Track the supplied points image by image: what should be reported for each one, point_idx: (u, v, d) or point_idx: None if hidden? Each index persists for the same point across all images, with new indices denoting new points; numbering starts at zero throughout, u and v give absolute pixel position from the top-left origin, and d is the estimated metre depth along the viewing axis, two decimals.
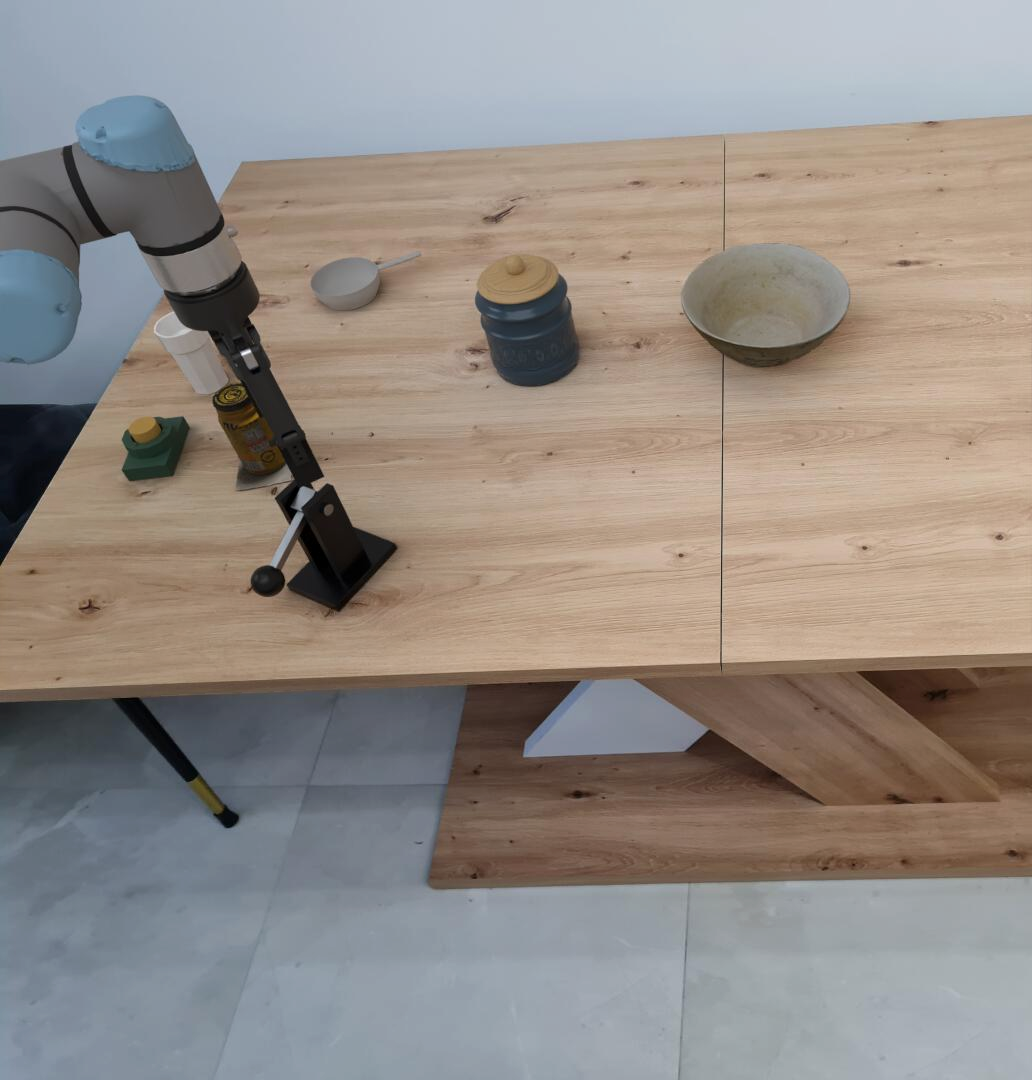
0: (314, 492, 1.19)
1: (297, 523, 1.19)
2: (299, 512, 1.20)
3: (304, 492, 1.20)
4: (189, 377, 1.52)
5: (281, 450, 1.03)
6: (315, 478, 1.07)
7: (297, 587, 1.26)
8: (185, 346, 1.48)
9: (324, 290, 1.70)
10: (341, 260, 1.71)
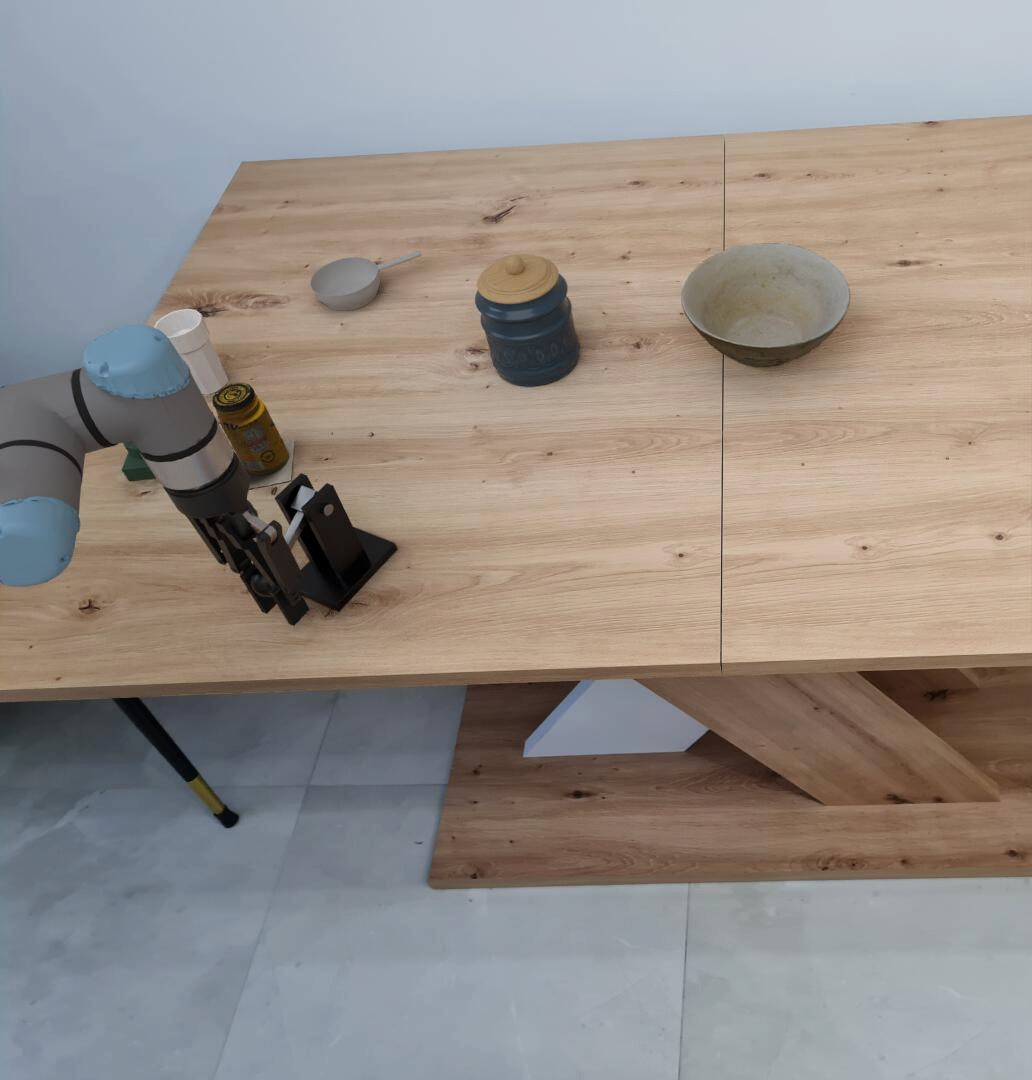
0: (314, 492, 1.19)
1: (297, 523, 1.19)
2: (299, 512, 1.20)
3: (304, 492, 1.20)
4: None
5: (277, 597, 1.17)
6: (304, 613, 1.22)
7: (297, 587, 1.26)
8: (185, 346, 1.48)
9: (324, 290, 1.70)
10: (341, 260, 1.71)
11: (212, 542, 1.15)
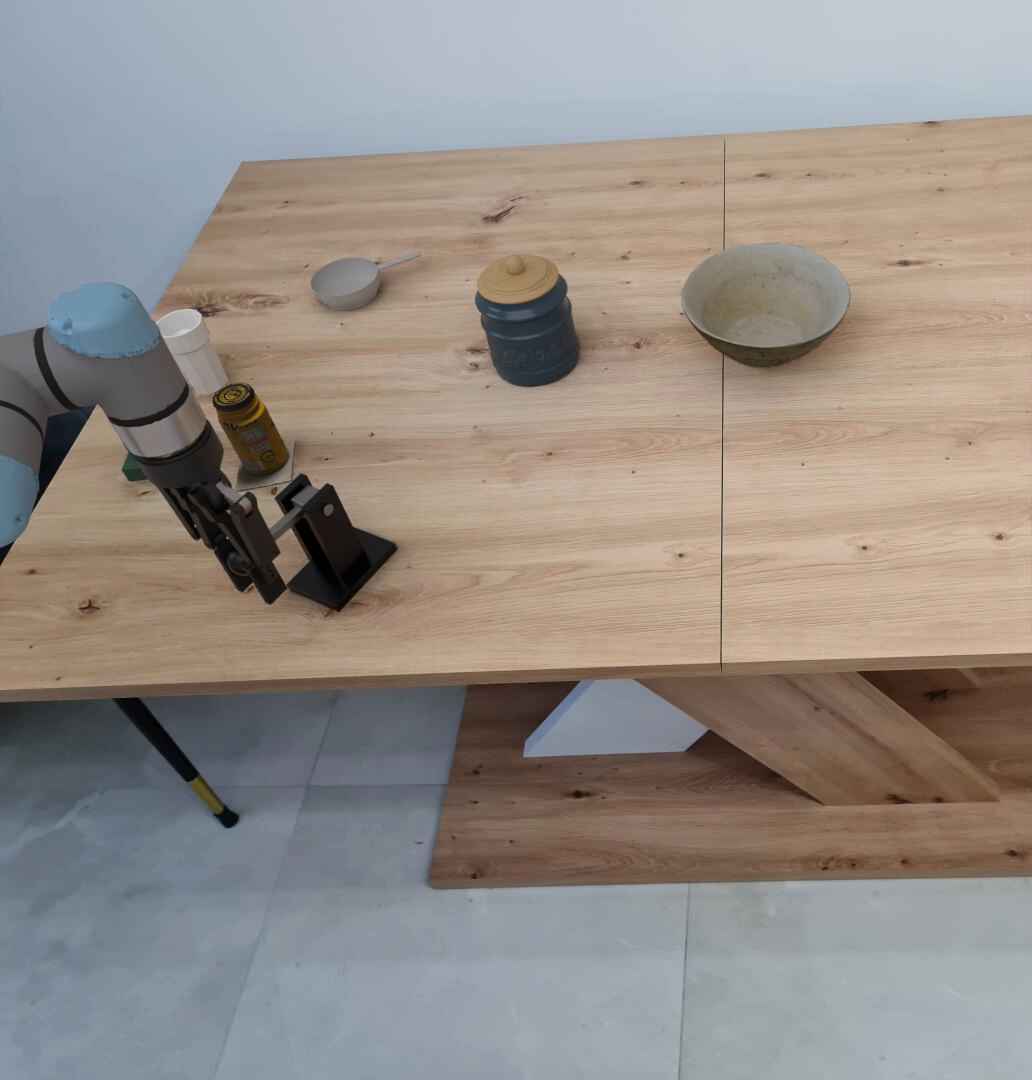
0: None
1: (292, 515, 1.18)
2: (297, 507, 1.19)
3: (309, 490, 1.20)
4: (189, 377, 1.52)
5: (253, 574, 1.13)
6: (281, 592, 1.17)
7: (297, 587, 1.26)
8: (185, 346, 1.48)
9: (324, 290, 1.70)
10: (341, 260, 1.71)
11: (185, 516, 1.11)
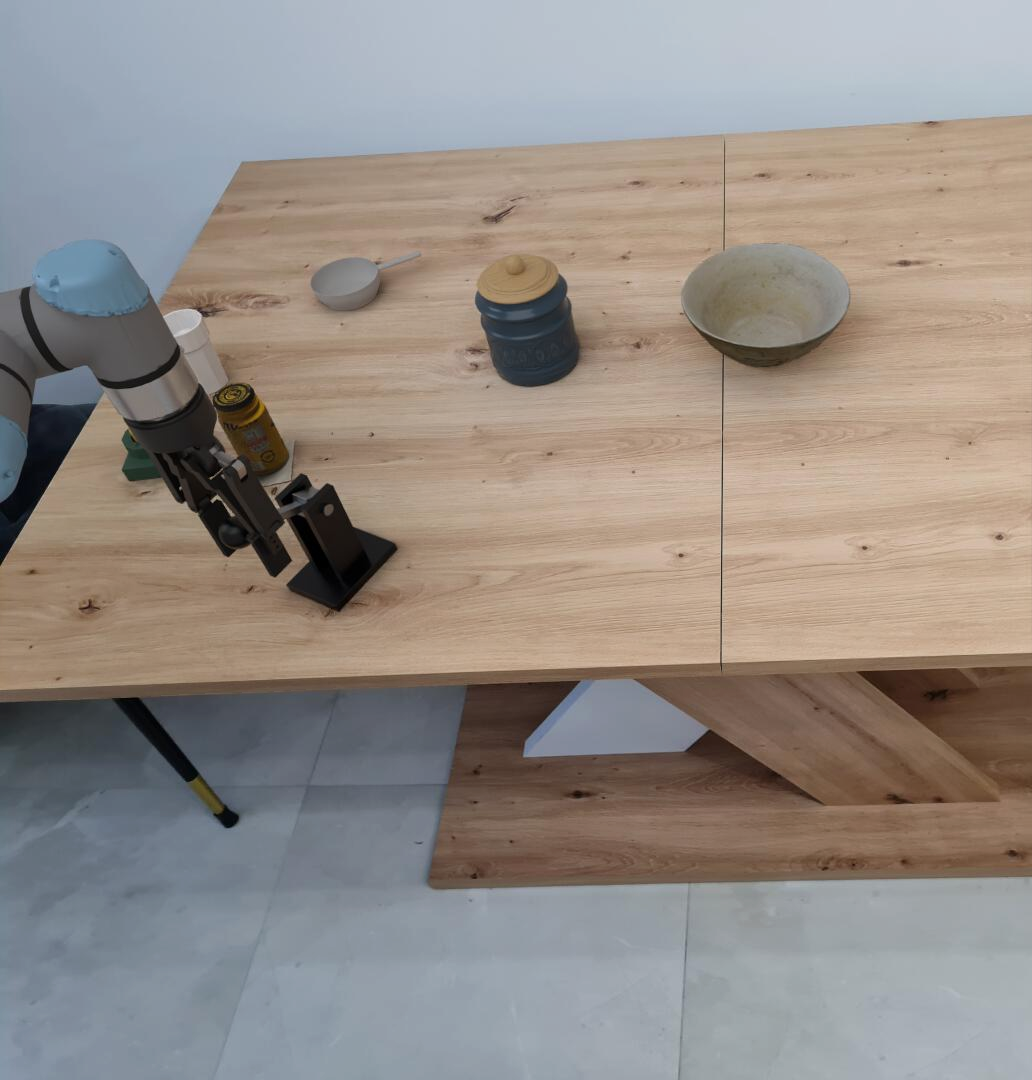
0: None
1: (292, 507, 1.18)
2: (297, 502, 1.19)
3: (312, 490, 1.21)
4: None
5: (257, 545, 1.10)
6: (286, 564, 1.15)
7: (297, 587, 1.26)
8: (185, 346, 1.48)
9: (324, 290, 1.70)
10: (341, 260, 1.71)
11: (171, 480, 1.09)
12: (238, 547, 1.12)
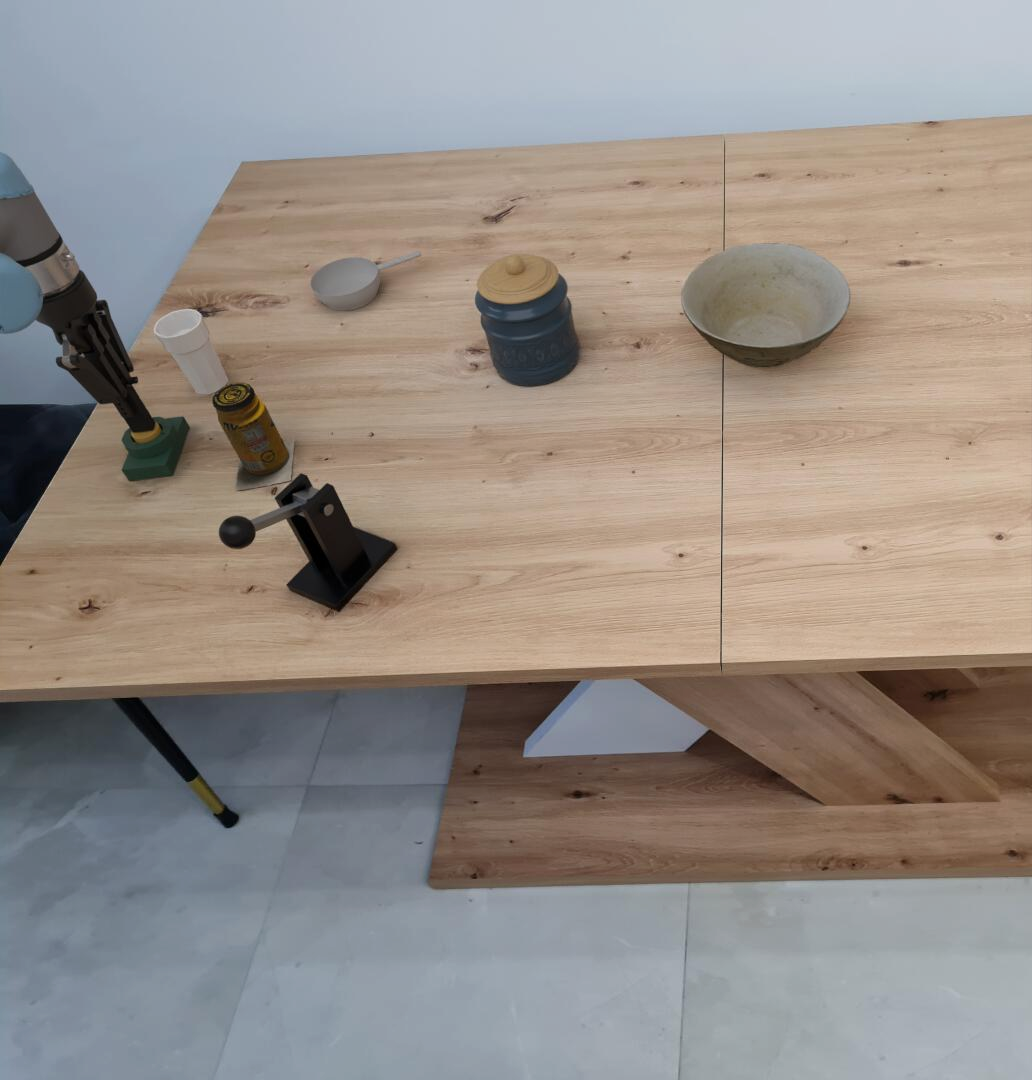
0: None
1: (292, 507, 1.18)
2: (297, 502, 1.19)
3: (312, 490, 1.21)
4: (189, 377, 1.52)
5: None
6: (145, 429, 1.42)
7: (297, 587, 1.26)
8: (185, 346, 1.48)
9: (324, 290, 1.70)
10: (341, 260, 1.71)
11: None
12: (238, 547, 1.12)
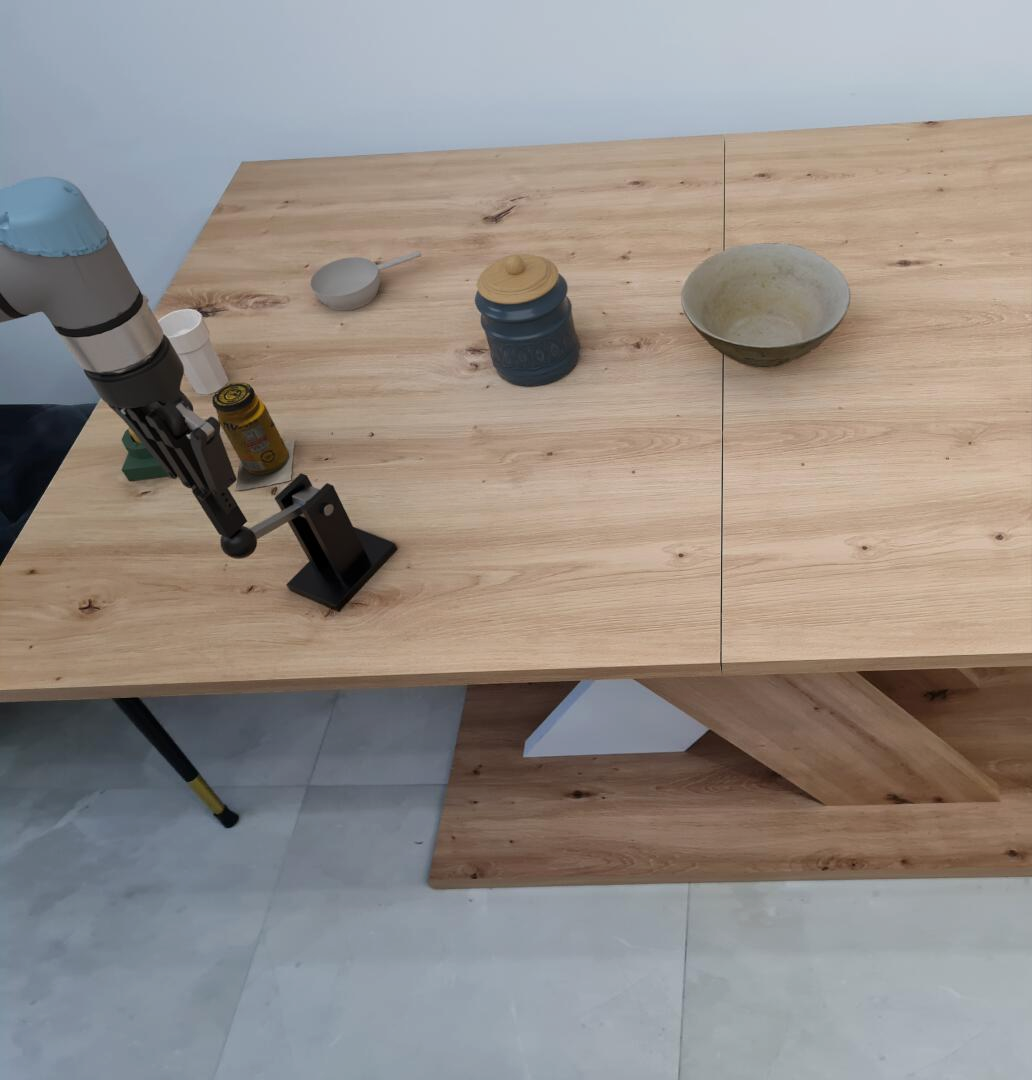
0: None
1: (292, 510, 1.18)
2: (297, 503, 1.19)
3: (311, 490, 1.20)
4: (189, 377, 1.52)
5: (208, 503, 1.07)
6: (240, 525, 1.11)
7: (297, 587, 1.26)
8: (185, 346, 1.48)
9: (324, 290, 1.70)
10: (341, 260, 1.71)
11: (155, 450, 1.04)
12: (241, 557, 1.12)
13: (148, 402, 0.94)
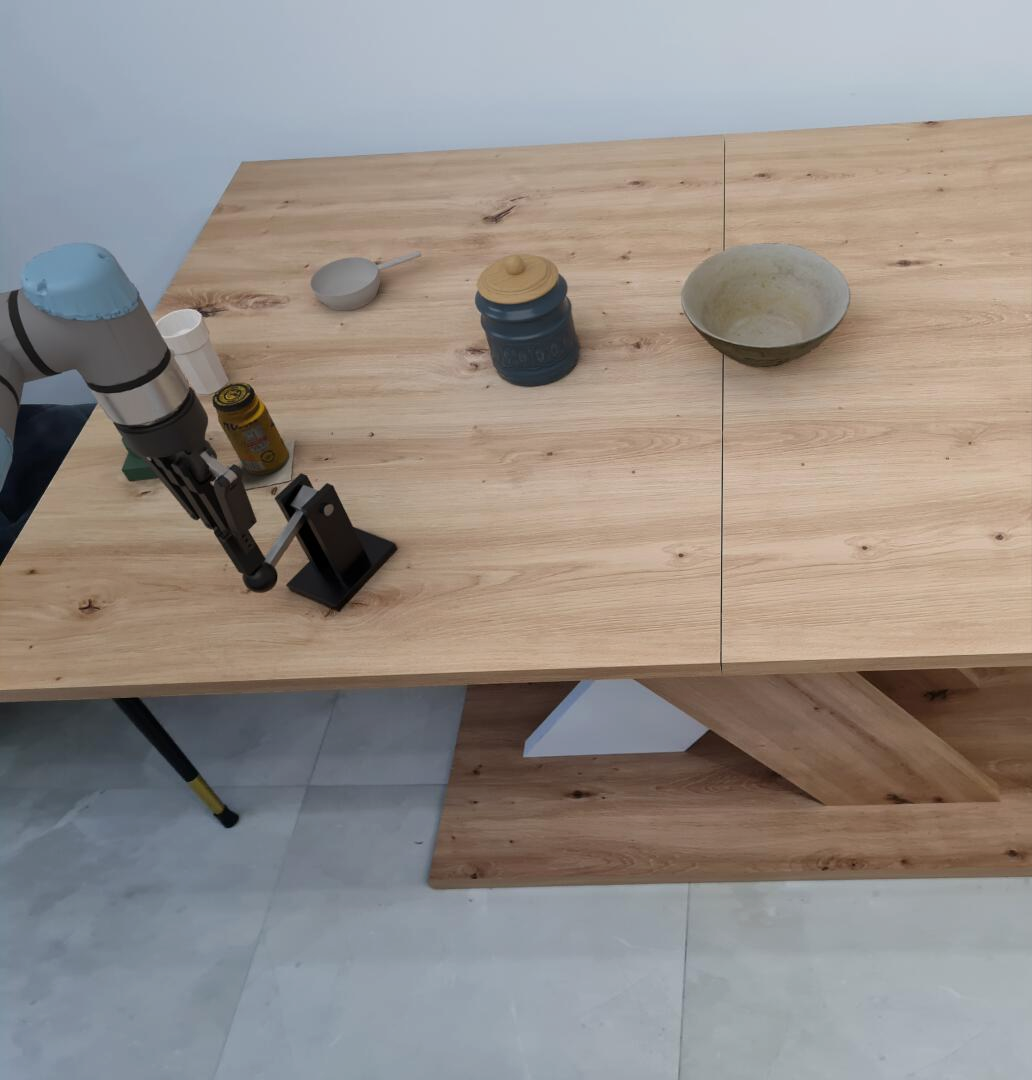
0: (316, 491, 1.19)
1: (295, 521, 1.19)
2: (298, 511, 1.20)
3: (306, 491, 1.20)
4: (189, 377, 1.52)
5: (229, 544, 1.11)
6: (259, 563, 1.15)
7: (297, 587, 1.26)
8: (185, 346, 1.48)
9: (324, 290, 1.70)
10: (341, 260, 1.71)
11: (179, 493, 1.08)
12: (268, 590, 1.18)
13: (174, 452, 0.98)
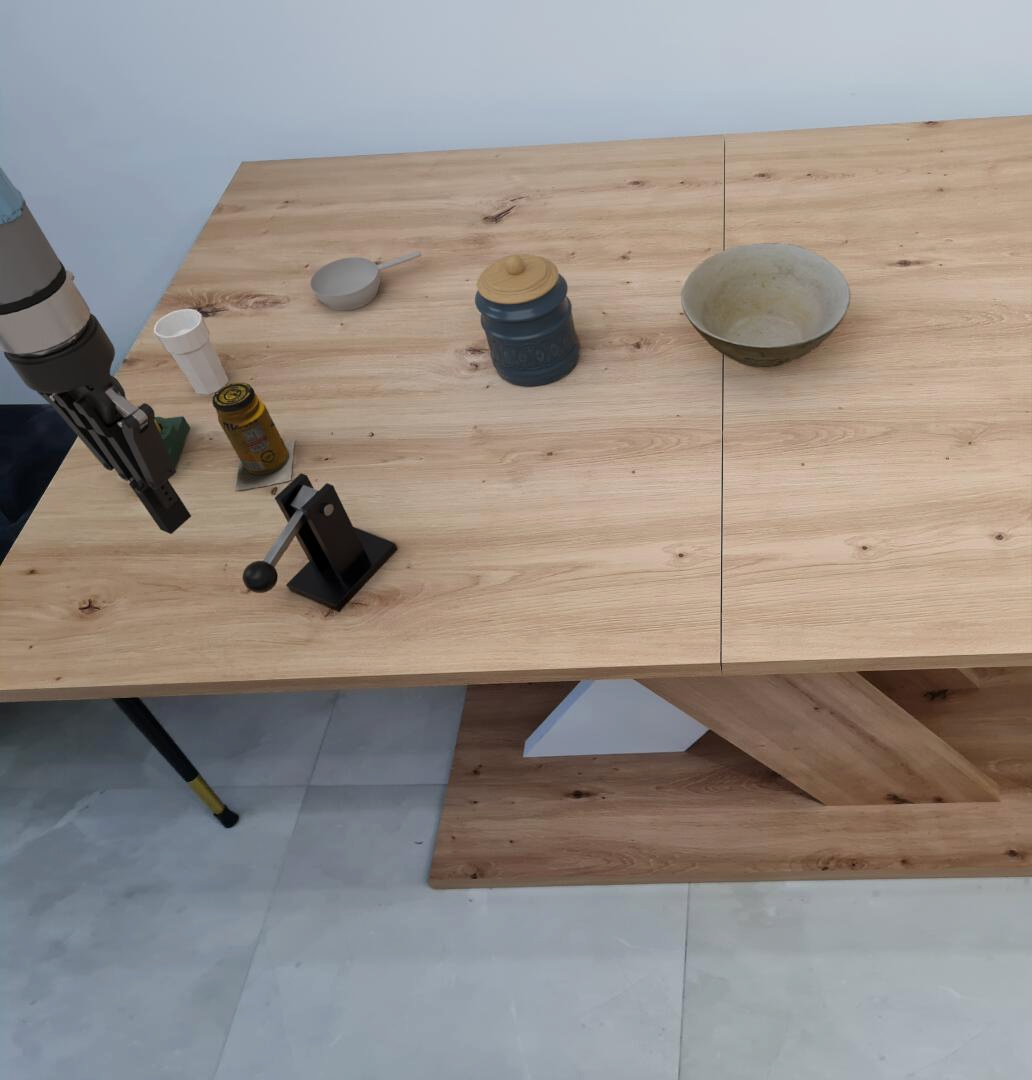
0: (316, 491, 1.19)
1: (295, 521, 1.19)
2: (298, 511, 1.20)
3: (306, 491, 1.20)
4: (189, 377, 1.52)
5: (147, 496, 1.00)
6: (184, 520, 1.05)
7: (297, 587, 1.26)
8: (185, 346, 1.48)
9: (324, 290, 1.70)
10: (341, 260, 1.71)
11: (89, 439, 0.97)
12: (268, 590, 1.18)
13: (74, 387, 0.88)
